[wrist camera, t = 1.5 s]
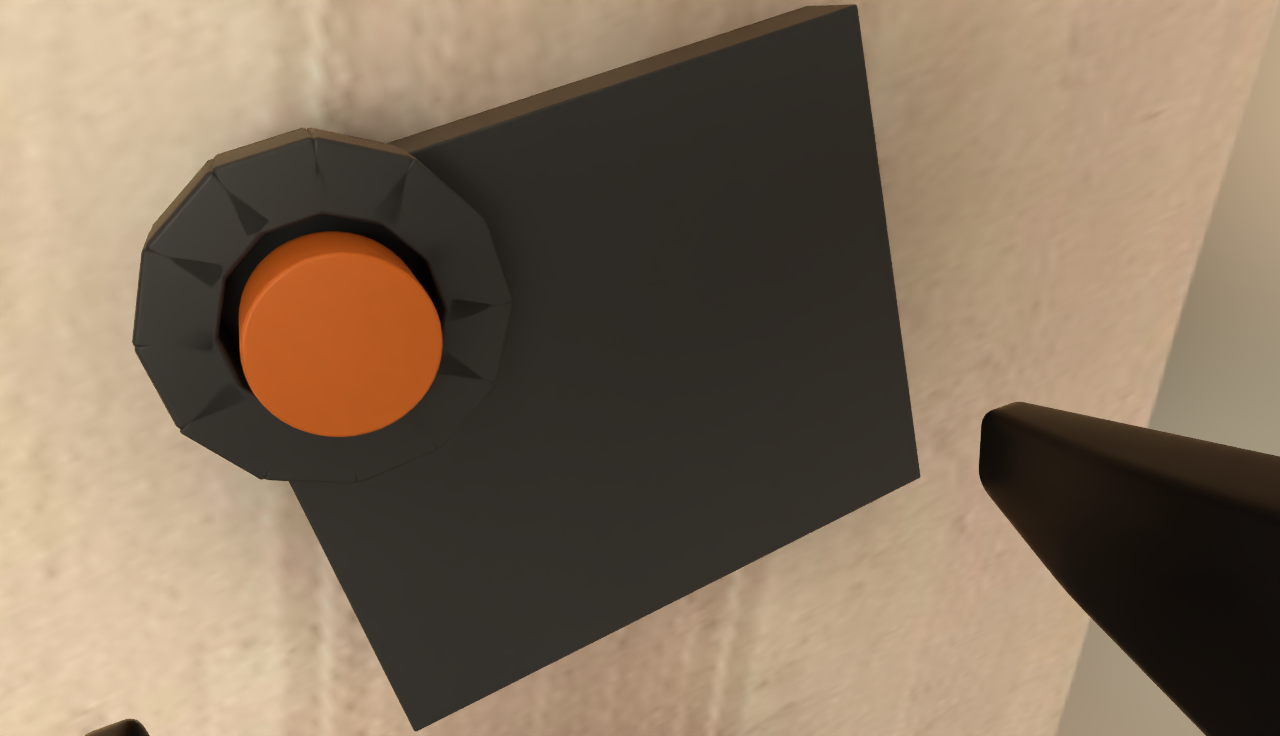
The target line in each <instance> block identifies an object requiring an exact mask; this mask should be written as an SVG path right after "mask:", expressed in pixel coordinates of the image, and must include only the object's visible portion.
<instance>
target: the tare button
mask: <svg viewBox="0 0 1280 736" xmlns="http://www.w3.org/2000/svg"><path fill="white" fill-rule="evenodd" d="M239 348H240V359H241V364H242V368H243V372H244V375H245V377H246V380H247V382H248V384H249V386H250V388H251V390H252V391H253V393H254V395H255V396H256V397H257V399H258V400H259V401H260V402H261V404H262V405H263V406H264V407H265V408H266V409H267V410H269V411H270V412H271V413H272V414H273V415H274V416H276V417H277V418H279V419H280V420H281V421H283V422H285V423H287V424H288V425H290V426H292V427H294V428H297V429H299V430H302V431H304V432H308V433H312V434H316V435H321V436H329V437H348V436H357V435H362V434H366V433H370V432H373V431H376V430H379V429H382V428H384V427H386V426H388V425H390V424H392V423H394V422H395V421H397V420H398V419H400V418H401V417H403V416H404V415H405V414H407V413H408V412H409V411H410V410H412V409H413V408H414V407H415V406H416V405H417V404H418V402H419V401H420V400H421V399H422V398H423V396H424V395H425V394H426V392H427V391H428V390H429V388H430V386H431V384H432V383H433V381H434V379H435V376H436V374H437V371H438V369H439V365H440V361H441V356H442V348H443V337H442V329H441V323H440V320H439V316H438V313H437V310H436V308H435V306H434V304H433V302H432V300H431V299H430V297H429V295H428V294H427V292H426V291H425V289H424V288H423V287H422V285H421V284H420V283H419V281H418V280H417V279H416V277H415V276H414V275H413V273H412V272H411V271H410V269H409V268H408V267H407V266H406V264H405V263H404V262H403V261H402V260H401V259H400V258H399V257H398V256H397V255H396V254H395V253H394V252H393V251H391V250H390V249H388V248H387V247H385V246H384V245H382V244H380V243H378V242H377V241H375V240H373V239H370V238H367V237H365V236H362V235H358V234H354V233H350V232H341V231H323V232H316V233H310V234H306V235H303V236H299V237H297V238H294V239H292V240H290V241H287V242H286V243H284V244H282V245H281V246H279V247H277V248H276V249H274V250H273V251H272V252H271V253H269V254H268V255H267V256H266V257H265V258H264V259H263V260H262V261H261V262H260V263H259V264H258V265H257V267H256V268H255V269H254V271H253V272H252V273H251V275H250V277H249V279H248V281H247V283H246V285H245V287H244V290H243V293H242V296H241V301H240V305H239Z"/></svg>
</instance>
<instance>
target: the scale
mask: <svg viewBox="0 0 1280 736" xmlns="http://www.w3.org/2000/svg"><path fill="white" fill-rule="evenodd" d="M323 231H341V232H350V233H354V234H358V235H362V236H365V237H367V238H370V239H373V240H375V241H377V242H378V243H380V244H382V245H384V246H385V247H387V248H388V249H390V250H391V251H393V252H394V253H395V254H396V255H397V256H398V257H399V258H400V259H401V260H402V261H403V262H404V263H405V264H406V266H407V267H408V268H409V269H410V271H411V272H412V273H413V275H414V276H415V277H416V279H417V280H418V281H419V283H420V284H421V285H422V287H423V288H424V289H425V291H426V292H427V294H428V295H429V297H430V299H431V300H432V302H433V304H434V306H435V308H436V310H437V313H438V316H439V320H440V323H441V329H442V337H443V348H442V356H441V361H440V365H439V369H438V371H437V374H436V376H435V379H434V381H433V383H432V384H431V386H430V388H429V390H428V391H427V392H426V394H425V395H424V396H423V398H422V399H421V400H420V401H419V402H418V404H417V405H416V406H415V407H414V408H413V409H412V410H410V411H409V412H408V413H407V414H405V415H404V416H403V417H401V418H400V419H398V420H397V421H395V422H394V423H392V424H390V425H388V426H386V427H384V428H382V429H379V430H376V431H373V432H370V433H366V434H362V435H357V436H348V437H329V436H321V435H316V434H312V433H308V432H304V431H302V430H299V429H297V428H294V427H292V426H290V425H288V424H287V423H285V422H283V421H281V420H280V419H279V418H277V417H276V416H274V415H273V414H272V413H271V412H270V411H269V410H267V409H266V408H265V407H264V406H263V405H262V404H261V402H260V401H259V400H258V399H257V397H256V396H255V395H254V393H253V391H252V390H251V388H250V386H249V384H248V382H247V380H246V377H245V375H244V372H243V368H242V364H241V359H240V348H239V305H240V301H241V296H242V293H243V290H244V287H245V285H246V283H247V281H248V279H249V277H250V275H251V273H252V272H253V271H254V269H255V268H256V267H257V265H258V264H259V263H260V262H261V261H262V260H263V259H264V258H265V257H266V256H267V255H268V254H269V253H271V252H272V251H273V250H274V249H276V248H277V247H279V246H281V245H282V244H284V243H286V242H287V241H290V240H292V239H294V238H297V237H299V236H303V235H306V234H310V233H316V232H323ZM132 342H133V345H134V346H135V352H136V354H137V356H138V357H139V359H140V361H141V363H142V365H143V367H144V368H145V370H146V372H147V374H148V376H149V377H150V379H151V381H152V383H153V385H154V387H155V388H156V390H157V392H158V394H159V396H160V397H161V399H162V401H163V403H164V405H165V407H166V408H167V410H168V412H169V414H170V416H171V417H172V419H173V421H174V423H175V425H176V426H177V427H178V428H180V432H181V433H182V434H183V435H185V436H187V437H188V438H190V439H192V440H194V441H195V442H197V443H199V444H201V445H202V446H204V447H206V448H207V449H209V450H211V451H213V452H214V453H216V454H218V455H219V456H221V457H223V458H225V459H226V460H228V461H230V462H232V463H233V464H235V465H237V466H238V467H240V468H242V469H244V470H245V471H247V472H249V473H251V474H252V475H254V476H256V477H257V478H259V479H264V478H265V479H267V480H279V481H289V483H290V485H291V487H292V489H293V491H294V492H295V494H296V496H297V498H298V500H299V502H300V504H301V506H302V508H303V510H304V512H305V514H306V516H307V518H308V520H309V522H310V524H311V526H312V528H313V530H314V532H315V534H316V536H317V538H318V540H319V542H320V544H321V546H322V548H323V550H324V552H325V554H326V556H327V558H328V560H329V562H330V564H331V566H332V568H333V570H334V572H335V574H336V576H337V578H338V580H339V582H340V584H341V586H342V588H343V590H344V592H345V594H346V596H347V598H348V600H349V602H350V604H351V606H352V608H353V610H354V612H355V614H356V616H357V618H358V620H359V622H360V624H361V626H362V628H363V630H364V632H365V634H366V636H367V638H368V640H369V642H370V644H371V646H372V648H373V650H374V652H375V654H376V656H377V658H378V660H379V662H380V664H381V666H382V668H383V670H384V672H385V674H386V676H387V678H388V680H389V682H390V684H391V686H392V688H393V690H394V692H395V694H396V696H397V698H398V700H399V702H400V704H401V706H402V708H403V710H404V712H405V714H406V716H407V717H408V719H409V721H410V723H411V725H412V727H413V729H414V731H418V730H420V729H422V728H424V727H426V726H428V725H430V724H432V723H434V722H436V721H438V720H440V719H442V718H444V717H446V716H448V715H450V714H452V713H454V712H456V711H458V710H460V709H462V708H464V707H466V706H468V705H470V704H472V703H474V702H476V701H478V700H480V699H482V698H484V697H486V696H488V695H490V694H492V693H494V692H496V691H498V690H500V689H502V688H504V687H506V686H508V685H510V684H511V683H513V682H515V681H517V680H519V679H521V678H523V677H525V676H527V675H529V674H531V673H533V672H535V671H537V670H539V669H541V668H543V667H545V666H547V665H549V664H551V663H553V662H555V661H557V660H559V659H561V658H563V657H565V656H567V655H569V654H571V653H573V652H575V651H577V650H579V649H581V648H583V647H585V646H587V645H589V644H591V643H593V642H595V641H597V640H599V639H601V638H603V637H605V636H607V635H609V634H611V633H613V632H615V631H617V630H619V629H621V628H623V627H625V626H627V625H629V624H630V623H632V622H634V621H636V620H638V619H640V618H642V617H644V616H646V615H648V614H650V613H652V612H654V611H656V610H658V609H660V608H662V607H664V606H666V605H668V604H670V603H672V602H674V601H676V600H678V599H680V598H682V597H684V596H686V595H688V594H690V593H692V592H694V591H696V590H698V589H700V588H702V587H704V586H706V585H708V584H710V583H712V582H714V581H716V580H718V579H720V578H722V577H724V576H726V575H728V574H730V573H732V572H734V571H736V570H738V569H740V568H742V567H744V566H746V565H748V564H749V563H751V562H753V561H755V560H757V559H759V558H761V557H763V556H765V555H767V554H769V553H771V552H773V551H775V550H777V549H779V548H781V547H783V546H785V545H787V544H789V543H791V542H793V541H795V540H797V539H799V538H801V537H803V536H805V535H807V534H809V533H811V532H813V531H815V530H817V529H819V528H821V527H823V526H825V525H827V524H829V523H831V522H833V521H835V520H837V519H839V518H841V517H843V516H845V515H847V514H849V513H851V512H853V511H855V510H857V509H859V508H861V507H863V506H865V505H867V504H868V503H870V502H872V501H874V500H876V499H878V498H880V497H882V496H884V495H886V494H888V493H890V492H892V491H894V490H896V489H898V488H900V487H902V486H904V485H906V484H908V483H910V482H912V481H914V480H916V479H918V478H920V470H919V463H918V455H917V448H916V441H915V433H914V426H913V418H912V411H911V403H910V396H909V388H908V381H907V373H906V366H905V359H904V351H903V344H902V336H901V329H900V321H899V314H898V306H897V299H896V292H895V284H894V277H893V269H892V262H891V254H890V247H889V239H888V232H887V224H886V217H885V210H884V202H883V195H882V187H881V180H880V172H879V165H878V157H877V150H876V143H875V135H874V128H873V120H872V113H871V105H870V98H869V90H868V83H867V76H866V68H865V61H864V53H863V46H862V38H861V31H860V23H859V16H858V8H857V5H827V6H806V7H803V8H800V9H797V10H794V11H791V12H788V13H785V14H782V15H779V16H776V17H772V18H769V19H766V20H763V21H760V22H757V23H754V24H751V25H748V26H745V27H742V28H739V29H736V30H733V31H730V32H727V33H724V34H720V35H717V36H714V37H711V38H708V39H705V40H702V41H699V42H696V43H693V44H690V45H687V46H684V47H681V48H678V49H675V50H671V51H668V52H665V53H662V54H659V55H656V56H653V57H650V58H647V59H644V60H641V61H638V62H635V63H632V64H629V65H626V66H622V67H619V68H616V69H613V70H610V71H607V72H604V73H601V74H598V75H595V76H592V77H589V78H586V79H583V80H580V81H577V82H573V83H570V84H567V85H564V86H561V87H558V88H555V89H552V90H549V91H546V92H543V93H540V94H537V95H534V96H531V97H528V98H525V99H521V100H518V101H515V102H512V103H509V104H506V105H503V106H500V107H497V108H494V109H491V110H488V111H485V112H482V113H479V114H476V115H472V116H469V117H466V118H463V119H460V120H457V121H454V122H451V123H448V124H445V125H442V126H439V127H436V128H433V129H430V130H427V131H423V132H420V133H417V134H414V135H411V136H408V137H405V138H402V139H399V140H396V141H393V142H390V143H387V144H385V143H380V142H376V141H371V140H366V139H361V138H357V137H352V136H347V135H343V134H338V133H333V132H328V131H324V130H319V129H314V128H308V129H307V130H306V129H305V128H300V129H297V130H294V131H291V132H288V133H284V134H281V135H278V136H275V137H272V138H268V139H265V140H262V141H259V142H256V143H253V144H249V145H246V146H243V147H240V148H237V149H233V150H230V151H227V152H224V153H221V154H218V155H216V156H215V157H214V159H211V160H209V161H207V163H206V164H205V165H204V166H203V167H202V168H201V170H200V171H199V172H198V173H197V174H196V175H195V177H194V178H193V179H192V180H191V181H190V182H189V184H188V185H187V186H186V187H185V188H184V189H183V191H182V192H181V193H180V194H179V195H178V196H177V198H176V199H175V200H174V201H173V202H172V203H171V205H170V206H169V207H168V208H167V209H166V210H165V212H164V213H163V214H162V215H161V216H160V217H159V219H158V220H157V221H156V222H155V223H154V224H153V226H152V229H151V231H150V232H149V234H148V237H147V239H146V242H145V245H144V247H143V250H142V253H141V263H140V272H139V282H138V292H137V301H136V311H135V321H134V330H133V340H132Z"/></svg>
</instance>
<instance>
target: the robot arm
mask: <svg viewBox="0 0 1280 736" xmlns="http://www.w3.org/2000/svg"><path fill="white" fill-rule="evenodd" d="M979 475H980V479H981V482H982V485H983V487H984V489H985V490H986V492H987V493H988V495H989V496H990V497H991V499H992V500H993V501H994V502H995V504H996V505H997V506H998V507H999V509H1000V510H1001V511H1002V512H1003V514H1004V515H1005V516H1006V517H1007V519H1008V520H1009V521H1010V522H1011V524H1012V525H1013V526H1014V527H1015V529H1016V530H1017V531H1018V532H1019V534H1020V535H1021V536H1022V537H1023V539H1024V540H1025V541H1026V542H1027V544H1028V545H1029V546H1030V547H1031V549H1032V550H1033V551H1034V552H1035V554H1036V555H1037V556H1038V557H1039V559H1040V560H1041V561H1042V562H1043V564H1044V565H1045V566H1046V567H1047V569H1048V570H1049V571H1050V572H1051V574H1052V575H1053V576H1054V577H1055V579H1056V580H1057V581H1058V582H1059V583H1060V584H1061V586H1062V587H1063V588H1064V589H1065V590H1066V591H1067V593H1068V594H1069V595H1070V596H1071V597H1072V598H1073V599H1074V600H1075V601H1076V602H1077V603H1078V605H1079V606H1080V607H1081V608H1082V609H1083V610H1084V611H1085V612H1086V613H1087V614H1088V615H1089V616H1090V617H1091V618H1092V619H1093V620H1094V621H1095V622H1096V623H1097V624H1098V625H1099V626H1100V627H1101V628H1102V629H1103V630H1104V631H1105V633H1107V635H1108V636H1109V637H1110V638H1111V639H1112V640H1113V641H1114V642H1115V643H1116V644H1117V645H1118V646H1119V647H1120V648H1121V649H1122V650H1123V651H1124V652H1125V653H1126V654H1127V655H1128V656H1129V657H1130V658H1131V659H1132V660H1133V661H1134V662H1135V663H1136V664H1137V665H1138V666H1139V667H1140V668H1141V669H1142V671H1144V673H1145V674H1146V675H1147V676H1148V677H1149V678H1150V679H1151V680H1152V681H1153V682H1154V683H1155V684H1156V685H1157V686H1158V687H1159V688H1160V689H1161V690H1162V691H1163V692H1164V693H1165V694H1166V695H1167V696H1168V697H1169V698H1170V699H1171V700H1172V701H1173V702H1174V703H1175V704H1176V705H1177V706H1178V707H1179V708H1180V710H1181V711H1182V712H1183V713H1184V714H1185V715H1186V716H1187V717H1188V718H1189V719H1190V720H1191V721H1192V722H1193V723H1194V724H1195V725H1196V726H1197V727H1198V728H1199V729H1200V730H1201V731H1202V732H1203V733H1204V734H1205V735H1206V736H1280V457H1279V456H1274V455H1270V454H1265V453H1260V452H1256V451H1251V450H1245V449H1241V448H1237V447H1232V446H1227V445H1223V444H1217V443H1213V442H1208V441H1203V440H1199V439H1194V438H1190V437H1184V436H1180V435H1175V434H1170V433H1166V432H1161V431H1156V430H1152V429H1147V428H1142V427H1138V426H1133V425H1128V424H1124V423H1119V422H1114V421H1109V420H1105V419H1100V418H1095V417H1091V416H1086V415H1081V414H1077V413H1072V412H1067V411H1062V410H1058V409H1053V408H1048V407H1044V406H1039V405H1034V404H1029V403H1025V402H1014V403H1011V404H1008V405H1005V406H1002V407H999V408H997V409H994V410H991V411H989V412H988V413H987V414H986V415H985V416H984V418H983V420H982V425H981V441H980V458H979ZM85 736H149V734H148V732H147V731H146V729H145V728H144V726H143V725H142V724H141V723H140V722H139V721H137V720H135V719H125V720H123V721H120V722H117V723H114V724H111V725H109V726H106V727H103V728H100V729H97V730H95V731H92V732H90V733H88V734H86V735H85Z"/></svg>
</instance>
